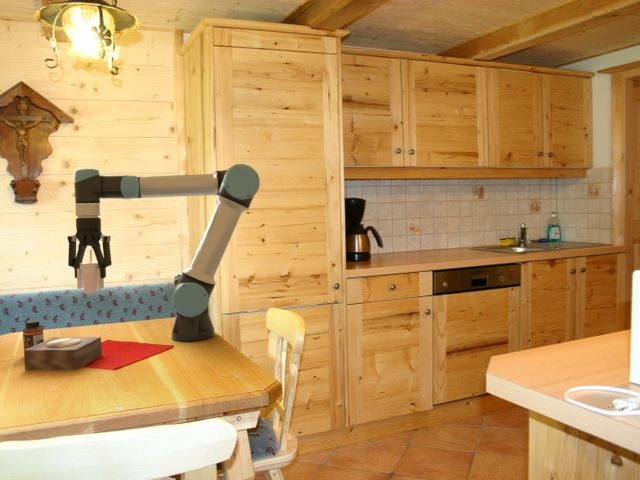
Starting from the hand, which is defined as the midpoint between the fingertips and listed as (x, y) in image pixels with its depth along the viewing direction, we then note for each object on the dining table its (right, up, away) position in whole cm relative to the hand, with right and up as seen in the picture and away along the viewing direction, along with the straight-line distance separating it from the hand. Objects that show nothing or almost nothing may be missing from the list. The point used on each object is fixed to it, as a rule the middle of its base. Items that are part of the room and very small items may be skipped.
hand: (90, 288), depth 186 cm
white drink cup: (0, -2, 0) cm, 2 cm away
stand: (-4, -22, -9) cm, 24 cm away
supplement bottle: (-19, -22, +1) cm, 29 cm away
